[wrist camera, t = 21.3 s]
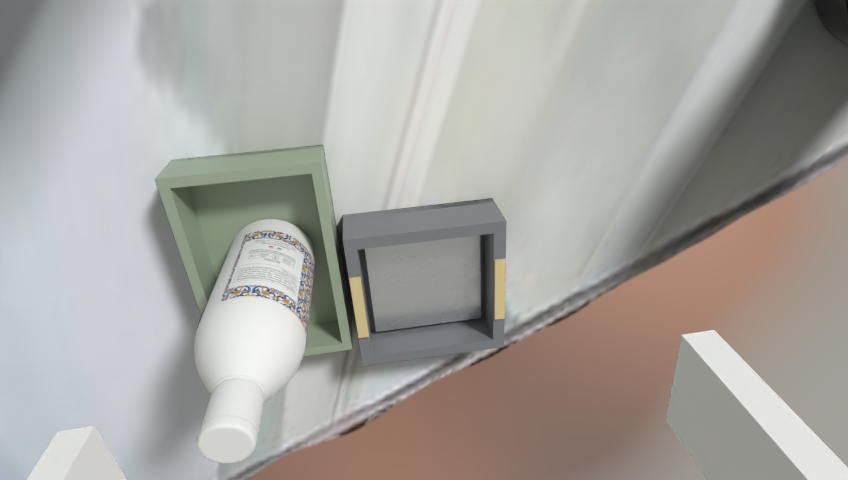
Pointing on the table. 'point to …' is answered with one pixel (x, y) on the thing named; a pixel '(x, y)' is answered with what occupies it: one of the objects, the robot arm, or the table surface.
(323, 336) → the green tray
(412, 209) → the gray square tray
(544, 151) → the table surface
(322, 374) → the table surface
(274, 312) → the bath foam
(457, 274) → the plate
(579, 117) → the table surface
